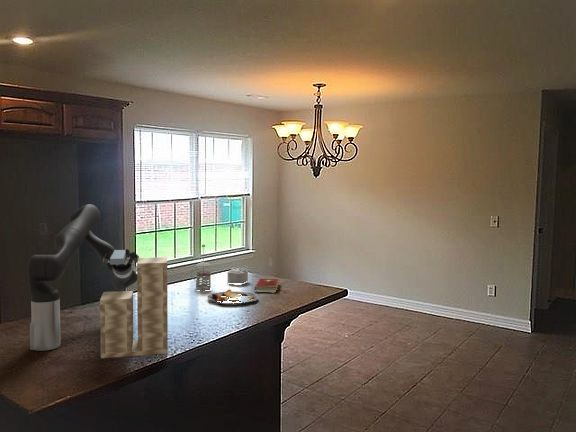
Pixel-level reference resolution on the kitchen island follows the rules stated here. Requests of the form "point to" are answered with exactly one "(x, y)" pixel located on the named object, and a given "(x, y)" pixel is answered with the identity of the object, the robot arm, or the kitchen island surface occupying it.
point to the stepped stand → (149, 314)
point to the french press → (203, 273)
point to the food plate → (231, 296)
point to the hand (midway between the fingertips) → (119, 251)
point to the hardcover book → (267, 284)
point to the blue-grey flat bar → (118, 257)
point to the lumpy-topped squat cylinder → (237, 275)
